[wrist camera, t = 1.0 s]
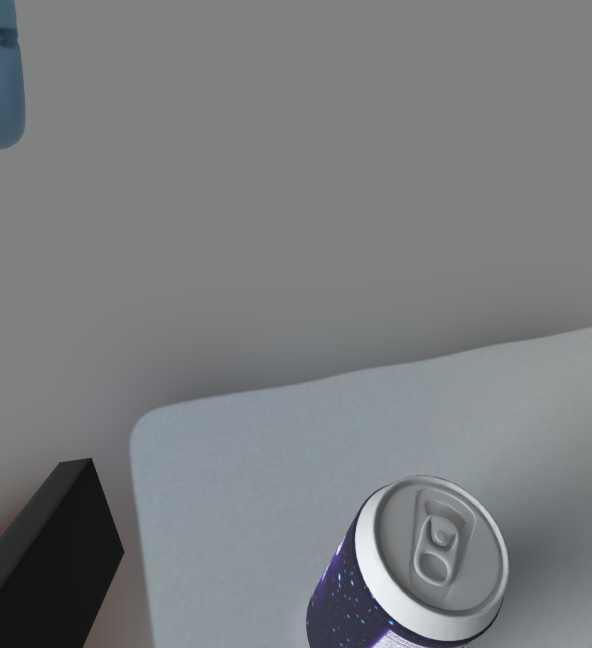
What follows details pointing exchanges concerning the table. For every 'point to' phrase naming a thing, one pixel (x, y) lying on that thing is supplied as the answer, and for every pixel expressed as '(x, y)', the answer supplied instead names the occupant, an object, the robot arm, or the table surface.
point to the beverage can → (412, 571)
